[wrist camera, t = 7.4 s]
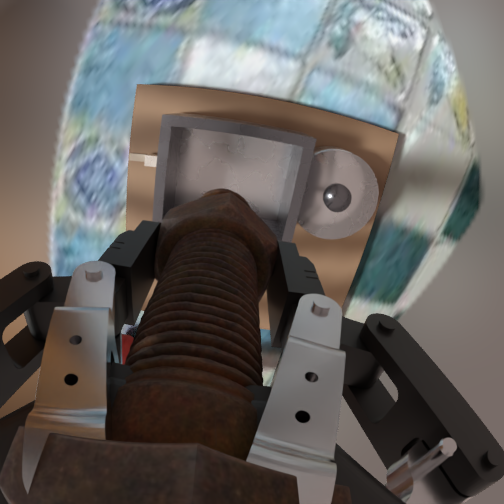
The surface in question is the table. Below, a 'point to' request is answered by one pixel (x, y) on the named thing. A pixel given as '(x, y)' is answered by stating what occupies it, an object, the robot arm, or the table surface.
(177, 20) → the table surface
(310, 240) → the wooden cutting board
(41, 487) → the bolt
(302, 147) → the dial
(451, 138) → the table surface
